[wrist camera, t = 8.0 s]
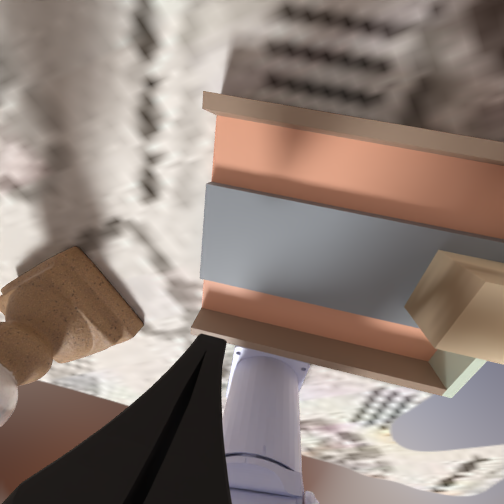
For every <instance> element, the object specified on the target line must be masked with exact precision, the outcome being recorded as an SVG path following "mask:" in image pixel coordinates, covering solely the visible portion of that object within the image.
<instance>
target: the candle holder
mask: <svg viewBox="0 0 504 504" xmlns="http://www.w3.org/2000/svg"><path fill="white" fill-rule="evenodd" d="M1 292H2V294H3V295H1V296H0V311H1V312H2V313H3V314H4V315H5V320H6V322H0V427H1V426H2V425H3V424H4V423H5V422H6V421H7V420H8V419H9V417H10V416H11V414H12V413H13V411H14V409H15V406H16V404H17V399H18V389H17V386H19V385H23V384H28V383H31V382H34V381H36V380H38V379H40V378H41V377H42V376H44V375H45V374H46V373H47V372H48V371H49V369H50V368H51V365H52V361H53V359H54V360H55V361H57V362H58V363H65V362H70V361H73V360H76V359H80V358H83V357H86V356H89V355H92V354H94V353H97V352H100V351H102V350H105V349H107V348H109V347H111V346H113V345H116V344H119V343H122V342H125V341H127V340H129V339H131V338H133V337H134V336H135V335H136V334H137V332H138V331H139V330H140V329H141V328H142V327H143V322H142V321H141V320H140V318H139V317H138V316H137V315H136V313H135V312H134V311H133V310H132V309H131V307H130V306H129V305H128V304H127V303H126V301H125V300H124V299H123V298H122V297H121V296H120V294H119V293H118V292H117V291H116V290H115V288H114V287H113V286H112V285H111V284H110V283H109V281H108V280H107V279H106V278H105V277H104V275H103V274H102V273H101V272H100V271H99V270H98V268H97V267H96V266H95V265H94V264H93V262H92V261H91V260H90V259H89V258H88V257H87V256H86V255H85V254H84V252H83V251H82V250H81V249H80V248H78V247H77V246H74V247H72V248H69V249H67V250H65V251H63V252H61V253H59V254H57V255H55V256H53V257H51V258H49V259H47V260H46V261H44V262H42V263H41V264H39V265H37V266H36V267H34V268H33V269H31V270H29V271H28V272H26V273H24V274H23V275H21V276H20V277H18V278H16V279H15V280H13V281H11V282H10V283H8V284H7V285H6V286H5V287H3V288H2V289H1Z"/></svg>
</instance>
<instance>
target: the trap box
mask: <svg viewBox="0 0 504 504" xmlns="http://www.w3.org/2000/svg"><path fill="white" fill-rule="evenodd" d="M202 109H205V110H207V111H209V112H211V113H213V114H215V115H217V119H216V131H215V144H214V157H213V170H212V182H209V183H207V184H206V194H205V209H204V223H203V238H202V253H201V267H200V279H204V285H203V298H202V308H201V310H200V312H199V314H198V315H197V317H196V319H195V321H194V323H193V325H192V326H191V334H192V335H197V336H198V335H199V334H201V333H202V334H206V335H210V336H214V337H217V338H221V339H225V340H226V341H227V343H229V344H233V345H237V346H241V347H245V348H249V349H254V350H258V351H262V352H266V353H270V354H274V355H278V356H282V357H286V358H290V359H294V360H298V361H302V362H306V363H310V364H315V365H319V366H323V367H327V368H331V369H335V370H339V371H343V372H347V373H351V374H355V375H359V376H363V377H367V378H372V379H376V380H380V381H384V382H388V383H392V384H396V385H400V386H404V387H408V388H412V389H416V390H420V391H424V392H428V393H433V394H437V395H441V396H445V397H449V398H452V397H453V396H454V395H455V394H456V393H457V392H458V391H459V390H460V389H461V388H462V387H463V385H464V384H465V383H466V382H467V381H468V380H469V379H470V378H471V377H472V376H473V375H474V374H475V373H476V372H477V371H478V370H479V369H480V368H481V367H482V366H483V365H484V364H485V363H486V360H482V359H478V358H473V357H469V356H465V355H460V354H456V353H452V352H447V351H443V350H439V349H435V348H434V347H433V346H432V344H431V343H430V342H429V340H428V339H427V338H426V336H425V335H424V333H423V332H422V331H421V329H420V328H419V327H418V325H417V324H416V322H415V321H414V320H413V318H412V317H411V316H410V314H409V313H408V311H407V310H406V309H405V307H404V306H405V304H406V303H407V301H408V299H409V298H410V296H411V294H412V293H413V291H414V289H415V288H416V286H417V284H418V283H419V281H420V279H421V278H422V276H423V275H424V273H425V271H426V270H427V268H428V266H429V265H430V263H431V261H432V260H433V258H434V256H435V255H436V253H437V251H438V250H442V251H447V252H452V253H456V254H461V255H466V256H471V257H476V258H481V259H486V260H491V261H496V262H501V263H504V142H500V141H494V140H488V139H482V138H476V137H470V136H464V135H458V134H453V133H447V132H441V131H435V130H429V129H423V128H417V127H411V126H406V125H400V124H394V123H388V122H382V121H376V120H370V119H364V118H359V117H353V116H347V115H341V114H335V113H329V112H323V111H317V110H312V109H306V108H300V107H294V106H288V105H282V104H276V103H270V102H265V101H259V100H253V99H247V98H241V97H235V96H229V95H223V94H218V93H212V92H206V91H203V107H202Z"/></svg>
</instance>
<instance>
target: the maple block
mask: <svg viewBox="0 0 504 504" xmlns="http://www.w3.org/2000/svg"><path fill="white" fill-rule="evenodd" d="M404 307H405V309H406V310H407V311H408V313H409V314H410V316H411V317H412V318H413V320H414V321H415V322H416V324H417V325H418V327H419V328H420V329H421V331H422V332H423V333H424V335H425V336H426V338H427V339H428V340H429V342H430V343H431V344H432V346H433V347H434V348H435V349H439V350H443V351H447V352H452V353H456V354H460V355H465V356H469V357H473V358H478V359H482V360H486V361H491V362H495V363H499V364H504V263H501V262H496V261H491V260H486V259H481V258H476V257H471V256H466V255H461V254H456V253H452V252H447V251H442V250H438V251H437V253H436V255H435V256H434V258H433V260H432V261H431V263H430V265H429V266H428V268H427V270H426V271H425V273H424V275H423V276H422V278H421V279H420V281H419V283H418V284H417V286H416V288H415V289H414V291H413V293H412V294H411V296H410V298H409V299H408V301H407V303H406V304H405V306H404Z"/></svg>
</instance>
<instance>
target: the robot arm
mask: <svg viewBox="0 0 504 504" xmlns="http://www.w3.org/2000/svg"><path fill="white" fill-rule="evenodd" d="M226 343H227V341H226V340H225V339H221V338H217V337H214V336H210V335H206V334H202V333H201V334H199V335H198V337H197V338H196V339H195V341H194V342H193V343H192V344H191V346H190V347H189V348H188V349H187V350H186V352H185V353H184V354H183V355H182V356H181V357H180V358H179V359H178V360H177V361H176V363H175V364H174V365H173V366H172V367H171V368H170V369H169V370H168V371H167V372H166V373H165V374H164V375H163V376H162V377H161V378H160V379H159V380H158V381H157V382H156V383H155V384H154V385H153V386H152V387H151V388H149V389H148V390H147V391H146V392H145V393H144V394H143V395H142V396H141V397H139V398H138V399H137V400H136V401H135V402H134V403H132V404H131V405H130V406H129V407H128V408H126V409H125V410H124V411H123V412H121V413H120V414H119V415H118V416H116V417H115V418H114V419H113V420H112V421H110V422H109V423H108V424H106V425H105V426H104V427H102V428H101V429H100V430H98V431H97V432H96V433H94V434H93V435H91V436H90V437H89V438H87V439H86V440H84V441H83V442H82V443H80V444H79V445H78V446H76V447H75V448H73V449H72V450H70V451H69V452H68V453H66V454H65V455H63V456H62V457H60V458H59V459H57V460H56V461H54V462H53V463H51V464H50V465H48V466H47V467H45V468H43V469H42V470H40V471H39V472H37V473H36V474H34V475H33V476H31V477H30V478H28V479H27V480H25V481H24V482H22V483H21V484H20V485H19V486H18V487H17V488H16V489H15V490H14V491H13V492H12V493H11V495H9V497H8V498H7V499H6V500H5V501H4V502H3V503H2V504H320V503H319V502H318V500H317V499H315V495H314V493H313V492H310V491H306V492H305V494H304V487H303V480H302V463H301V438H300V413H299V391H300V388H301V386H302V384H303V381H304V379H305V376H306V374H307V372H308V369H309V367H310V363H306V362H302V361H298V360H294V359H290V358H286V357H282V356H278V355H274V354H270V353H266V352H262V351H258V350H254V349H249V348H245V347H241V346H237V345H236V346H235V350H234V355H233V360H232V366H231V371H230V377H229V382H228V388H227V393H226V398H227V402H226V406H225V410H224V414H223V418H222V402H221V382H222V364H223V359H224V354H225V348H226ZM238 351H239V352H238Z"/></svg>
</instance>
